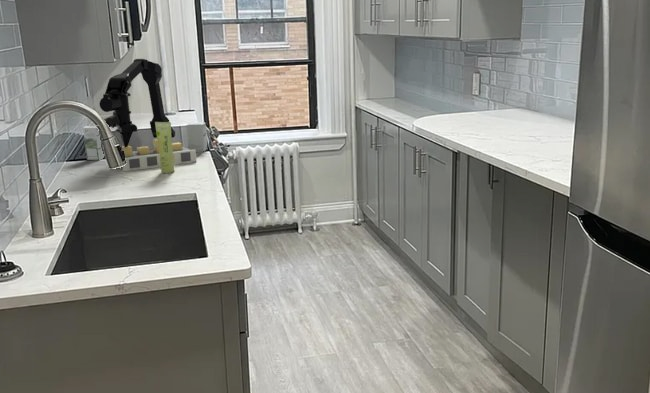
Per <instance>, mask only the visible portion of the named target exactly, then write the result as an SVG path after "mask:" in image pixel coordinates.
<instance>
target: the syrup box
mask: <svg viewBox="0 0 650 393" xmlns="http://www.w3.org/2000/svg"><path fill="white" fill-rule="evenodd" d="M96 126H97V125H85V126H83V127H82V132H83V141H84V147H85V155H86V161H101V159H102V160H104V159H105V158H104V156H105V153H104V154H103V151H102V147H101V140H100V134H99V131H98V129H97V127H96ZM103 158H104V159H103Z"/></svg>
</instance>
